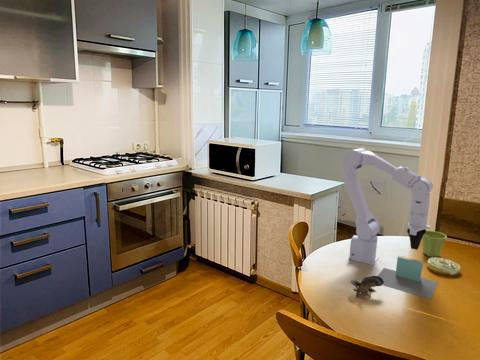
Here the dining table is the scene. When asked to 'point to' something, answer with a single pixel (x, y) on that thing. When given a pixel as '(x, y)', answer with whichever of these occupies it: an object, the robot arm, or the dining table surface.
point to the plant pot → (433, 243)
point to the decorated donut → (443, 266)
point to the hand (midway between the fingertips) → (414, 248)
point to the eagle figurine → (367, 284)
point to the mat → (408, 284)
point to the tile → (409, 268)
